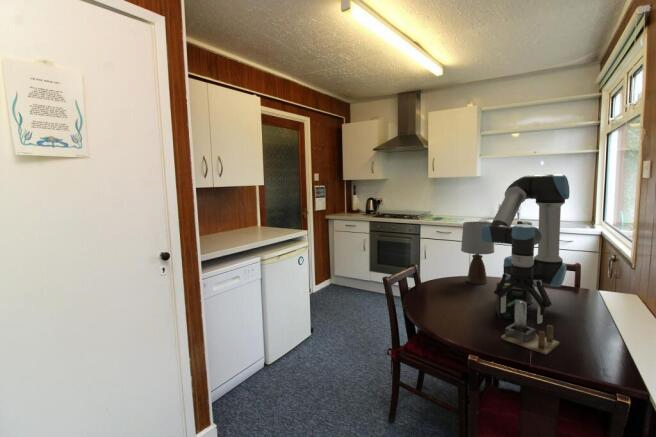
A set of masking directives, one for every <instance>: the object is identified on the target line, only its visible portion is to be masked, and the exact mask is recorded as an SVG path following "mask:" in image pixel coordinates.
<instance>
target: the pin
mask: <svg viewBox="0 0 656 437" xmlns="http://www.w3.org/2000/svg"><path fill="white" fill-rule="evenodd" d="M527 305H528V304H527V302H525V301H522V300H516V301H515V320H514V323H515V330H517V331H520V332H523V333H526V326H527V313H528V312H527V309H528V308H527Z"/></svg>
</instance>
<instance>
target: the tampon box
mask: <svg viewBox="0 0 656 437" xmlns="http://www.w3.org/2000/svg"><path fill="white" fill-rule="evenodd" d="M499 283H500V282H496V287H497V286H498V285H499ZM510 284H511V283H505V285H504V286H503V288H502V289H501V291H500V292H502V291H503V290H504V289H505V288H506V287H508V286H509V285H510ZM495 295H496V302H495V303H496V307H495V310H496V314H497V316H498V318H499V319H500V320H512V321H515V301H516V300H522V301H525V302H526V289H521V288H516V287H515V286H514V287H513V288H512V289H511V290H509V291H508V292H507V293H506V294H505V295H504V296H506V312H504V313H501V304H499V296H498V295H497V294H495Z"/></svg>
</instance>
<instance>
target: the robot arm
mask: <svg viewBox="0 0 656 437" xmlns="http://www.w3.org/2000/svg"><path fill="white" fill-rule="evenodd" d="M570 193H571V191H570V184H569V180H568V178H567V176H566V175H565V174H562V173H561V174H559V173H558V174H556V173H553V174H533V175H532V174H530V175H524V176H521V177H519V178H517V179H516V180H513V182H512V183H511V184H510V185H508V186H507V188H506V190H505V192H504V198H503V200H502V202H501V204H500V206H499V208H498V210H497V212H496V214H495V215H494V218H493V220H492V221H491V222H490V223H491V225H484V226H483V227H482V229H481V238H482V240H483V241H485V242H491V243H494V244H504V245H505V244H506V245H511V255H509V256H506V257H504V259H503V273H502V276H501V280H500V281H499V282H498V283H499V285H498V286H497V285H496V289H494V291H493V294H494V295H498V296H499V304H501V313H504V312H506V296H504V295H505V294H506V293H507V292H508V291H509V290H511V289H512V288H513V287H514V286H515V287H516V288H521V289H526V302H527V305H530V304H533V299H534V300H535V302H536V303H537V304H538V306H537V314H536V316H537V317H536V318H537V319H536V323H537V324H538V325H539V324H542V323H543V319H544V318H543V316H545V315H546V311H547V310H546V309H547V308H550V307H551V306H552V305H553V304H552V301H551V300H550V298H549V295H548V293H547V291H546V289H545V287H544V286H548V287H553V288H556V287H557V288H559V287H561V286H562V285H563V283H564V281H565V277H566V273H567V266H568V265H567V263H564V262H563V261H564V259H563V258H562V257H561V256H560V241H561V240H560V239H561V238H560V237H561V214H562V213H561V211H562V210H561V208H562V206H563V205H565V203H566V200H569V199H570ZM526 200H535V204H536V205H537V206H539V207H538V227H535V226H534V225H529V224H518V225H517V224H516V225H513V226H512V223H513V222H514V220H515V217H516V216H517V213H518V211H519V208H520V207H521V205H522V204H523V203H524V202H525V201H526ZM536 245H537V254H536V255H534V253H535V252H534V251H535V246H536ZM505 283H511V284H510V285H509V286H508V287H506V288H505V289H504V290H503V291H502V292H500V291H501V289H502V288H503V286H504V285H505ZM533 284H534V285H533ZM534 286H536V289H537V290H536V289H535V287H534ZM538 292H539V293H538Z"/></svg>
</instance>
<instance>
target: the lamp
mask: <svg viewBox="0 0 656 437" xmlns="http://www.w3.org/2000/svg"><path fill="white" fill-rule="evenodd" d="M491 223H492V222H489V221H465V222H464V221H463V223H462V235H461V246H460V247H461V248H460V251H461V252H462V253H466V254H469V255H470V254H472V256H471V257H472V259H471V262H470V264H469V267H468V273H467V279H466V280H467V282H468V283H469V284H472V285H485V284H486V285H487V283H488V279H487V271H486V266H485V264H484V261H483V259H482V258H483V257H484V256H483V255H490V254H494V253H495V243H491V242H485V241H483V240H482V238H481V229H482V227H483V226H484V225H491Z"/></svg>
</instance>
